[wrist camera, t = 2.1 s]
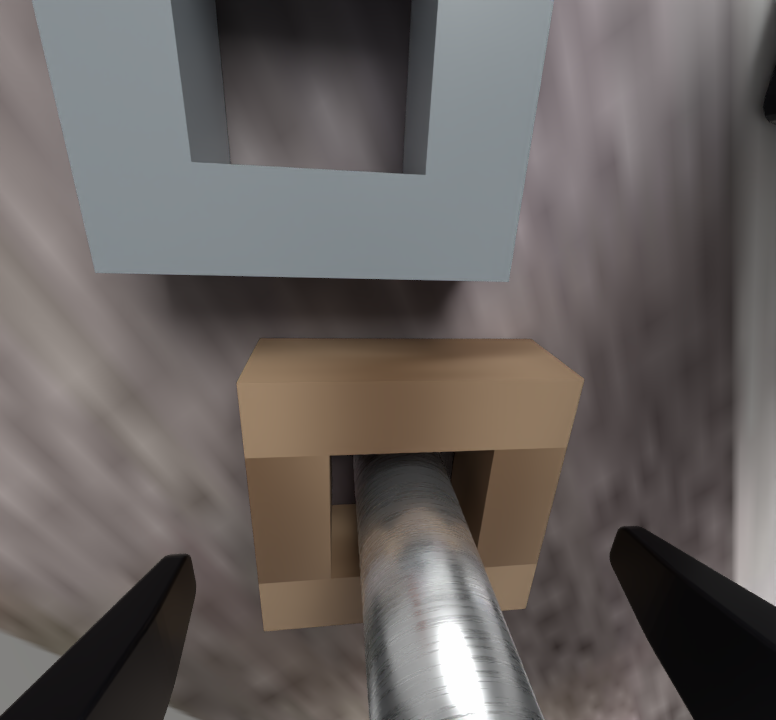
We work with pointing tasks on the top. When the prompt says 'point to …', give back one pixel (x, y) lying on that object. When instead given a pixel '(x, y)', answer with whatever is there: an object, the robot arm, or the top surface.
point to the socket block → (397, 435)
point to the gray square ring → (284, 184)
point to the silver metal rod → (429, 601)
